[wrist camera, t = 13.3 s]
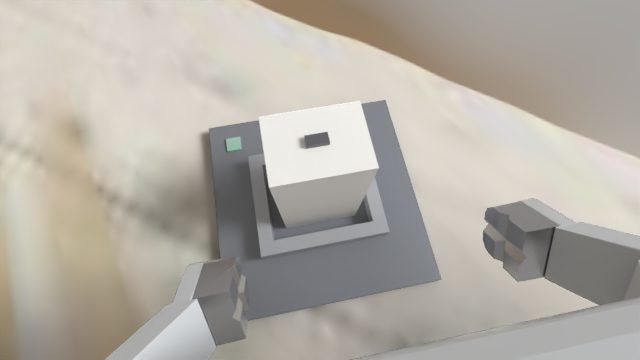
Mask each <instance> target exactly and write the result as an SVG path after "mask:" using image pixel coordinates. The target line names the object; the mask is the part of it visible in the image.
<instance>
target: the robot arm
mask: <svg viewBox="0 0 640 360" xmlns="http://www.w3.org/2000/svg"><path fill="white" fill-rule="evenodd" d="M485 220H486V222H487V223H488V225H487V226H486V228H485V229H484V230H483V241H484V245H485V248H486V249H487V251H488V253H489V254H490V255H491V256H492V257H493V258H495V259H497V260H500V261H502V262H503V268H504V269H505V270H506V271H507V272H508V273H509V274H510V275H511V276H512V277H513V278H514V279H515V280H516V281H517V282H519V281H525V280H530V279H536V278H542V277H545V279H547V280H549V281H551V282H553V283H555V284H557V285H559V286H561V287H563V288H565V289H567V290H569V291H571V292H573V293H575V294H577V295H579V296H581V297H584V298H586V299H588V300H590V301H592V302H594V303H596V304H598V305H600V306H595V307H591V308H586V309H582V310H577V311H573V312H568V313H563V314H559V315H554V316H549V317H545V318H540V319H535V320H531V321H526V322H521V323H517V324H512V325H508V326H503V327H498V328H494V329H489V330H484V331H480V332H475V333H470V334H466V335H461V336H457V337H452V338H447V339H443V340H438V341H434V342H429V343H425V344H420V345H415V346H411V347H406V348H402V349H397V350H392V351H388V352H383V353H379V354H374V355H369V356H365V357H360V358H356V359H351V360H640V236H637V235H633V234H629V233H624V232H620V231H616V230H612V229H608V228H604V227H600V226H596V225H591V224H587V223H583V222H579V223H576V222H574V221H572V220H571V219H569V218H567V217H566V216H564V215H563V214H561V213H559V212H558V211H556V210H554V209H553V208H551V207H549V206H548V205H546V204H544V203H543V202H541V201H539V200H538V199H533V198H531V199H527V200H522V201H518V202H515V203H510V204H505V205H500V206H496V207H491V208H487V210H486V212H485ZM241 272H242V264H241V261H240V258H239V257H238V256H234V257H228V258H222V259H217V260H211V261H206V262H200V263H194V264H190V265H188V266H187V267H186V270H185V272H184V275H183V277H182V280H181V282H180V285H179V287H178V290H177V292H176V295H175V297H174V300H173V302H172V304H167V305H166V306H165V307H164V308H162V309H161V310H160V311H159V312H158V313H157V314H156V315H154V316H153V317H152V318H151V319H150V320H149V321H148V322H147V323H145V324H144V325H143V326H142V327H141V328H140V329H139V330H137V331H136V332H135V333H134V334H133V335H132V336H131V337H129V338H128V339H127V340H126V341H125V342H124V343H123V344H122V345H120V346H119V347H118V348H117V349H116V350H115V351H114V352H112V353H111V354H110V355H109V356H108V357H107V358H106V359H104V360H208V359H209V358H210V356H211V355H212V353H213V352H214V350H215V349H216V345H221V344H225V343H229V342H233V341H237V340H242V339H246V331H247V321H248V319H247V316H246V313H245V312H246V311H247V309H248V308H249V289H248V283H247V280H246V277H244V276H243V275H241Z"/></svg>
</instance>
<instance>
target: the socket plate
mask: <svg viewBox="0 0 640 360" xmlns="http://www.w3.org/2000/svg"><path fill="white" fill-rule="evenodd" d="M361 105H362V109H363V113H364V116H365V120H366V123H367V127H368V130H369V134H370V138H371V141H372V145H373V148H374V152H375V155H376V159H377V163H378V166H379V169H378V171H377V173H376V175H375V177H374V179H373V181H372V183H371V185H370V187H369V189H368V191H367V193H366V195H365V197H364V199H363V201H362V203H361V205H360V207H359V209H358V210H357V212H356V214H355V216H350V217H345V218H340V219H334V220H329V221H324V222H318V223H313V224H308V225H303V226H297V227H292V228H286V226H285V224H284V221H283V219H282V217H281V214H280V212H279V210H278V207H277V205H276V203H275V200H274V198H273V196H272V193H271V191H270V189H269V185H268V178H267V171H266V164H265V157H264V151H263V144H262V137H261V130H260V123H259V121H253V122H246V123H240V124H234V125H228V126H222V127H215V128H209V134H210V146H211V157H212V169H213V180H214V192H215V204H216V215H217V227H218V239H219V250H220V259H222V258H228V257H234V256H238V257H239V258H240V261H241V264H242V272H241V275H243V276H244V277H246V280H247V283H248V289H249V308H248V309H247V311H246V312H245V313H246V316H247V319H248V321H249V320H254V319H258V318H263V317H268V316H273V315H277V314H282V313H287V312H292V311H296V310H301V309H306V308H310V307H315V306H320V305H325V304H329V303H334V302H339V301H343V300H348V299H353V298H358V297H362V296H367V295H372V294H376V293H381V292H386V291H391V290H395V289H400V288H405V287H409V286H414V285H419V284H424V283H428V282H433V281H438V280H441V276H440V273H439V270H438V267H437V264H436V260H435V257H434V254H433V251H432V248H431V245H430V241H429V238H428V235H427V232H426V229H425V225H424V222H423V219H422V216H421V213H420V209H419V206H418V203H417V200H416V197H415V193H414V190H413V187H412V184H411V181H410V177H409V174H408V171H407V168H406V165H405V162H404V158H403V155H402V152H401V149H400V146H399V142H398V139H397V136H396V133H395V130H394V126H393V123H392V120H391V117H390V114H389V110H388V107H387V104H386V101H385V100H383V101H377V102H370V103H364V104H361Z"/></svg>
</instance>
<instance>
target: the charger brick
mask: <svg viewBox="0 0 640 360" xmlns="http://www.w3.org/2000/svg"><path fill="white" fill-rule="evenodd" d="M259 123H260V130H261V137H262V144H263V151H264V157H265V164H266V171H267V178H268V185H269V189H270V191H271V193H272V196H273V198H274V200H275V203H276V205H277V207H278V210H279V212H280V214H281V217H282V219H283V221H284V224H285V226H286V228H292V227H297V226H303V225H308V224H313V223H318V222H324V221H329V220H334V219H340V218H345V217H350V216H355V214H356V212H357V210H358V209H359V207H360V205H361V203H362V201H363V199H364V197H365V195H366V193H367V191H368V189H369V187H370V185H371V183H372V181H373V179H374V177H375V175H376V173H377V171H378V169H379V166H378V163H377V159H376V155H375V152H374V148H373V145H372V141H371V138H370V134H369V130H368V127H367V123H366V120H365V116H364V113H363V109H362V105H361V102H360V101H354V102H348V103H341V104H335V105H329V106H322V107H316V108H310V109H304V110H297V111H291V112H285V113H279V114H272V115H266V116H260V117H259Z"/></svg>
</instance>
